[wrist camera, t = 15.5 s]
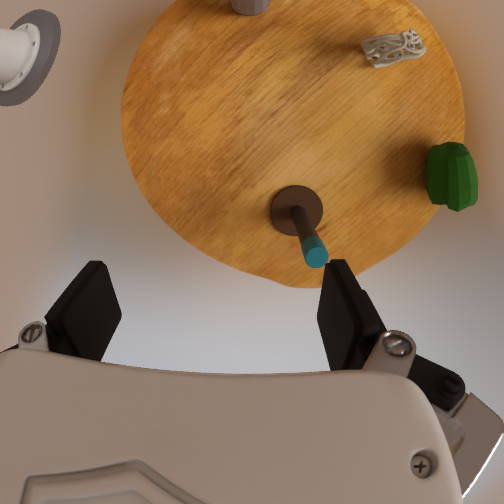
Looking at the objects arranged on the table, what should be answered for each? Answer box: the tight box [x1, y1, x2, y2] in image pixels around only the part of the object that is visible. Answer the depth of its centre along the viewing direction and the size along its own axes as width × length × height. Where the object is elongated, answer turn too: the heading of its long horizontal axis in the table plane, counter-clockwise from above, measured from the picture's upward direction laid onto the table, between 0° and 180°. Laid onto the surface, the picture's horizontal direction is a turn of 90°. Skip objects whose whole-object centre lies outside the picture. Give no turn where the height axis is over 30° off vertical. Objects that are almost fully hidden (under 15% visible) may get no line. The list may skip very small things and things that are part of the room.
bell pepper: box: [425, 142, 478, 212], centre depth 29 cm, size 8×8×10 cm
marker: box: [290, 205, 329, 268], centre depth 30 cm, size 2×2×12 cm
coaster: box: [270, 185, 323, 236], centre depth 36 cm, size 7×7×1 cm
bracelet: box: [360, 28, 427, 68], centre depth 22 cm, size 4×8×8 cm, turn 119°
